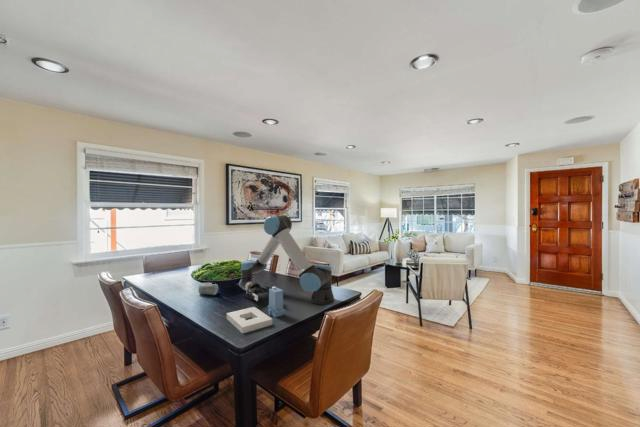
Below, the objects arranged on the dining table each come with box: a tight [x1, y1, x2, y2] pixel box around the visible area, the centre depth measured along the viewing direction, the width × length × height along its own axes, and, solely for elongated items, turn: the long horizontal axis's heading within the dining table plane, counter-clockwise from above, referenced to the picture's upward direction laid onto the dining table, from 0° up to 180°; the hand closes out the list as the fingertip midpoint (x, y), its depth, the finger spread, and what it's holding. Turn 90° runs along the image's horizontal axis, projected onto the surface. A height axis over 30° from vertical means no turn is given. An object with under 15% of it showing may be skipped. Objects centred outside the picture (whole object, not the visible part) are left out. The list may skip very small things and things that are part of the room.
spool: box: [198, 282, 219, 296], centre depth 187 cm, size 14×10×10 cm
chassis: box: [226, 306, 274, 334], centre depth 142 cm, size 22×16×3 cm
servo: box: [266, 286, 286, 318], centre depth 151 cm, size 11×6×15 cm, turn 38°
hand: (268, 296), depth 159 cm, fingers open, 13 cm apart
